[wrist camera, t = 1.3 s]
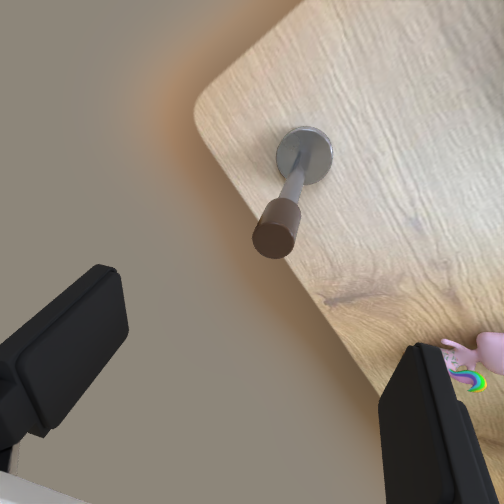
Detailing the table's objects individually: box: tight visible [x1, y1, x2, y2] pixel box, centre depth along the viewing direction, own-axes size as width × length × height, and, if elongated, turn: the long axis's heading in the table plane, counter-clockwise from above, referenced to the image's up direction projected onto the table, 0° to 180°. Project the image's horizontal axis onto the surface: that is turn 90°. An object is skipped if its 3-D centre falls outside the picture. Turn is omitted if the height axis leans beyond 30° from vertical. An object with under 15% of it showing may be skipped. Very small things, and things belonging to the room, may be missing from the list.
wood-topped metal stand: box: [252, 126, 333, 259], centre depth 21 cm, size 5×5×15 cm
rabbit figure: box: [403, 332, 504, 392], centre depth 31 cm, size 6×6×15 cm
